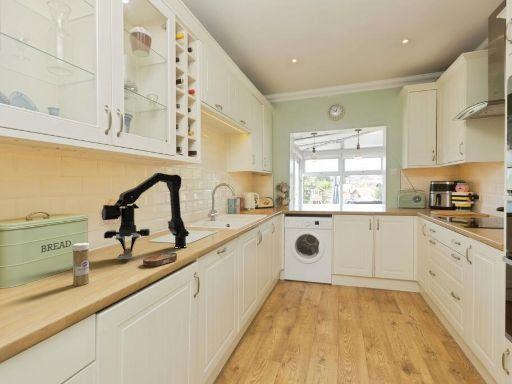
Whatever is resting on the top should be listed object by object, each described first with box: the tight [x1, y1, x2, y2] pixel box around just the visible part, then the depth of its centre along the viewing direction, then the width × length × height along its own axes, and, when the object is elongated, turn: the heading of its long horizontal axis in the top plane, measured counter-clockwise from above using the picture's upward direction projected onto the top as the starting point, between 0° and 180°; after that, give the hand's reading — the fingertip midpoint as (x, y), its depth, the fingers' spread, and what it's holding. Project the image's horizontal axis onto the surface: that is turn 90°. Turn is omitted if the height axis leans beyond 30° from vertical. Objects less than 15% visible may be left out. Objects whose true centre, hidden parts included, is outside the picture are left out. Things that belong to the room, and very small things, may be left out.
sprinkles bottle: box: [72, 242, 90, 287], centre depth 84 cm, size 5×5×13 cm
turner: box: [116, 246, 134, 260], centre depth 116 cm, size 16×5×2 cm, turn 18°
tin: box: [142, 252, 178, 268], centre depth 109 cm, size 15×3×8 cm
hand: (128, 251), depth 119 cm, fingers closed on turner, 2 cm apart
